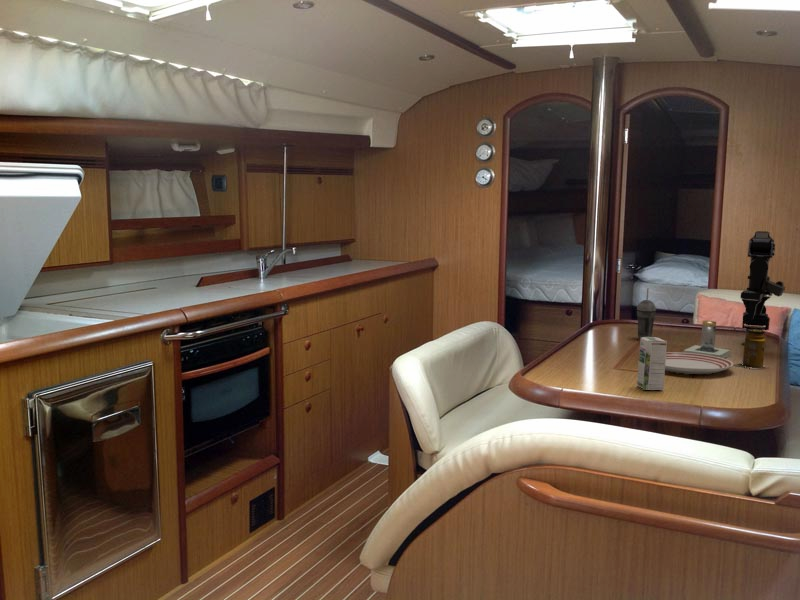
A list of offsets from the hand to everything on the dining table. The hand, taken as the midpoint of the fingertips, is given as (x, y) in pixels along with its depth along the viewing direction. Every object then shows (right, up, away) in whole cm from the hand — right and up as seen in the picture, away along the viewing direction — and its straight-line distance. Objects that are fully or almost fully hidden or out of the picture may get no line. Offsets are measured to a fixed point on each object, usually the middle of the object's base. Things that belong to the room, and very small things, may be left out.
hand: (754, 317), depth 259 cm
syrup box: (-54, -19, -50) cm, 76 cm away
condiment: (-10, -16, -18) cm, 26 cm away
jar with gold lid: (-18, -13, -3) cm, 23 cm away
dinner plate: (-33, -16, -23) cm, 43 cm away
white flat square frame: (-18, -13, -3) cm, 23 cm away
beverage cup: (-31, -10, +24) cm, 40 cm away
